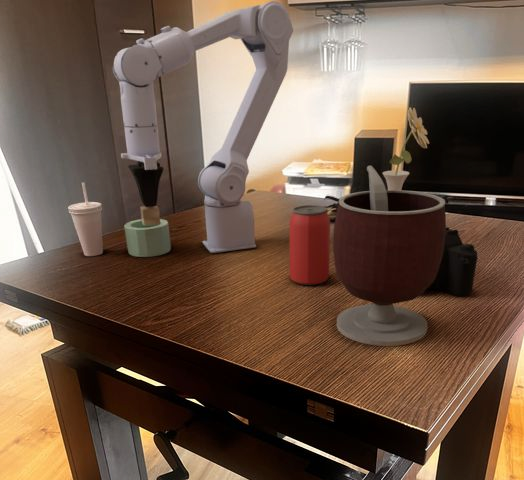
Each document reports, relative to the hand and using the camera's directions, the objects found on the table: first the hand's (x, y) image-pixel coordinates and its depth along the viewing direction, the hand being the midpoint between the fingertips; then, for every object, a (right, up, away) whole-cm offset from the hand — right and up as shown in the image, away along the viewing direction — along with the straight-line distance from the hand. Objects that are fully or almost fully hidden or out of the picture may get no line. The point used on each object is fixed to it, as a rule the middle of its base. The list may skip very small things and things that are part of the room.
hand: (149, 205), depth 99 cm
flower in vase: (+47, -5, +9) cm, 49 cm away
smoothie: (-13, -7, +10) cm, 18 cm away
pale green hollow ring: (-2, -7, +10) cm, 12 cm away
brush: (0, -3, +1) cm, 3 cm away
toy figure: (+37, +4, +27) cm, 46 cm away
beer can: (+29, -15, -8) cm, 34 cm away
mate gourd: (+37, -23, -24) cm, 50 cm away
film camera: (+47, -17, -12) cm, 52 cm away
